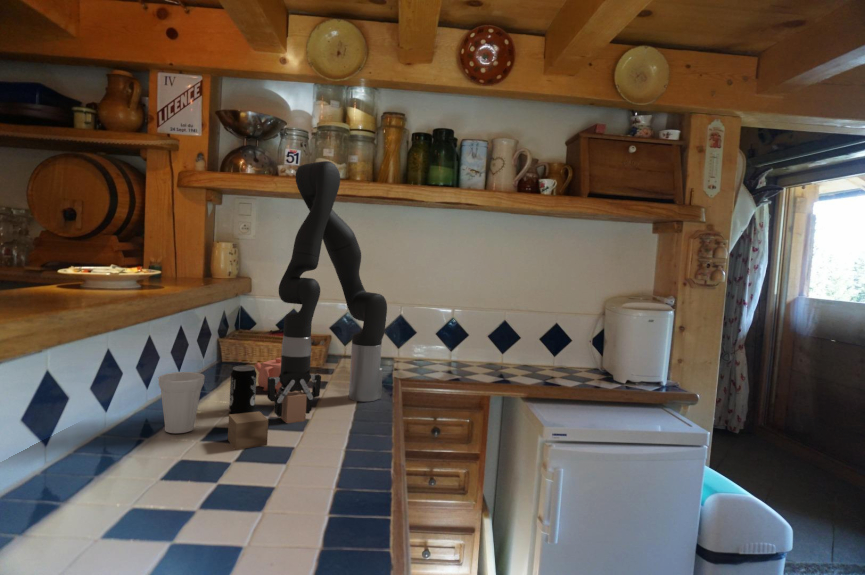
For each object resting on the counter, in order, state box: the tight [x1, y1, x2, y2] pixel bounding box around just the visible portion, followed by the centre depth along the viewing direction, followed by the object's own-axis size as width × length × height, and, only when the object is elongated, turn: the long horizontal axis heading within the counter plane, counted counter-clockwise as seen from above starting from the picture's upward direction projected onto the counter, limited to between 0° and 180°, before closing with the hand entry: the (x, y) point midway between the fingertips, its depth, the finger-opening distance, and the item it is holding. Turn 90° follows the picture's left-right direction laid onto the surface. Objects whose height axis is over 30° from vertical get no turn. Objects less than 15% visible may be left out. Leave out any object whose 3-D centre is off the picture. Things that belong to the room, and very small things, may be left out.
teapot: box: [253, 357, 282, 394], centre depth 166 cm, size 14×12×10 cm
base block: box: [227, 411, 269, 450], centre depth 119 cm, size 7×7×6 cm
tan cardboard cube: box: [279, 390, 307, 424], centre depth 138 cm, size 5×5×7 cm
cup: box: [158, 371, 206, 434], centre depth 124 cm, size 10×10×13 cm
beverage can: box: [229, 365, 257, 414], centre depth 142 cm, size 7×7×12 cm
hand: (293, 414), depth 138 cm, fingers open, 7 cm apart
